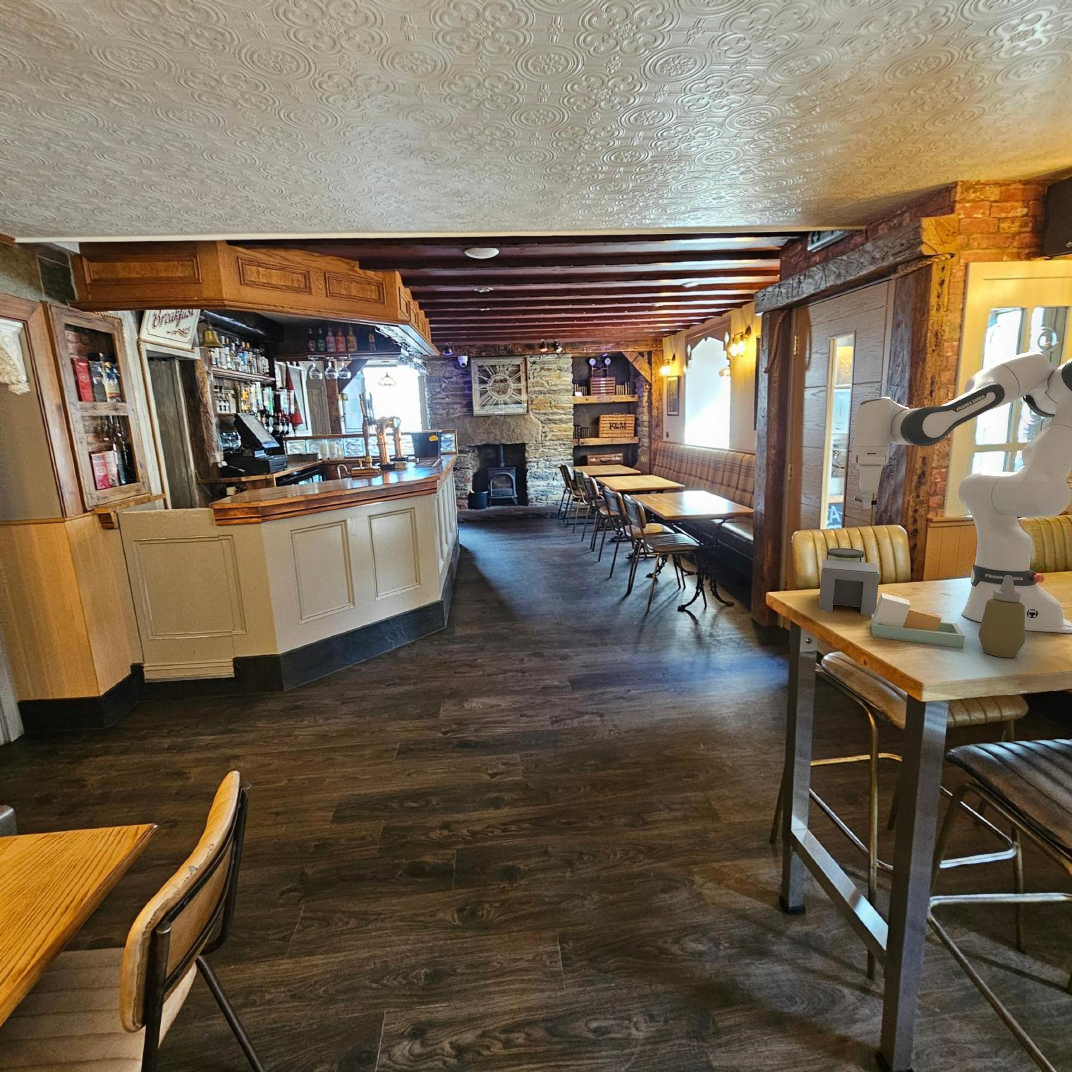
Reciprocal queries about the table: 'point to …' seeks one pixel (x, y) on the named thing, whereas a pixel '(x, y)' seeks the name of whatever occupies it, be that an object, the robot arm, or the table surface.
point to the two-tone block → (903, 614)
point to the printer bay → (849, 585)
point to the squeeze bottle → (1003, 622)
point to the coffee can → (845, 554)
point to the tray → (921, 634)
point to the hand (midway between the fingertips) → (866, 506)
